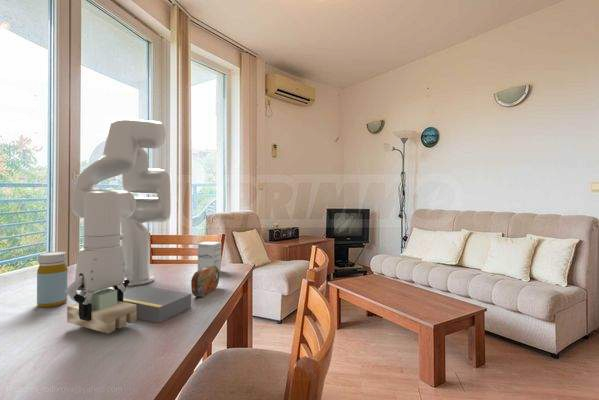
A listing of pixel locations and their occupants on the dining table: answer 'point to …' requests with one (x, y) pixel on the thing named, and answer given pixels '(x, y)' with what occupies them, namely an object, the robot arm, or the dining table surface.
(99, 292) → the box
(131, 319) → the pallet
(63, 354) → the dining table surface
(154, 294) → the dock
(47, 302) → the bottle
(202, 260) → the supplement box
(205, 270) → the tin
